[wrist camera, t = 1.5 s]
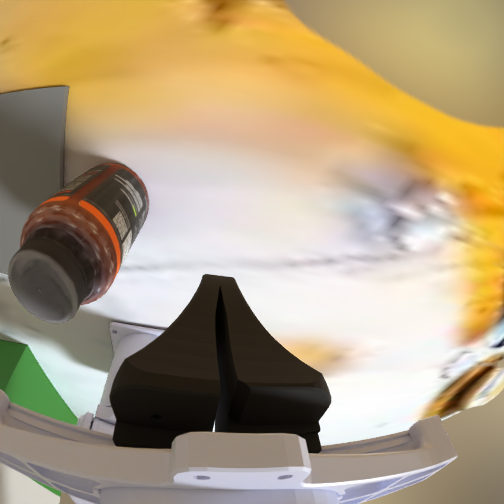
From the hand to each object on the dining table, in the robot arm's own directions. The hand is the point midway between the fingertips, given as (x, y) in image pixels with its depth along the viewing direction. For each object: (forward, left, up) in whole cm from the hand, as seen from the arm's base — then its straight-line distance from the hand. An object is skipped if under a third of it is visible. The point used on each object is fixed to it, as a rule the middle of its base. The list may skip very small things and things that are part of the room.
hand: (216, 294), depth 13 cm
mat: (0, +20, -10) cm, 22 cm away
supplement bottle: (0, +8, -10) cm, 13 cm away
